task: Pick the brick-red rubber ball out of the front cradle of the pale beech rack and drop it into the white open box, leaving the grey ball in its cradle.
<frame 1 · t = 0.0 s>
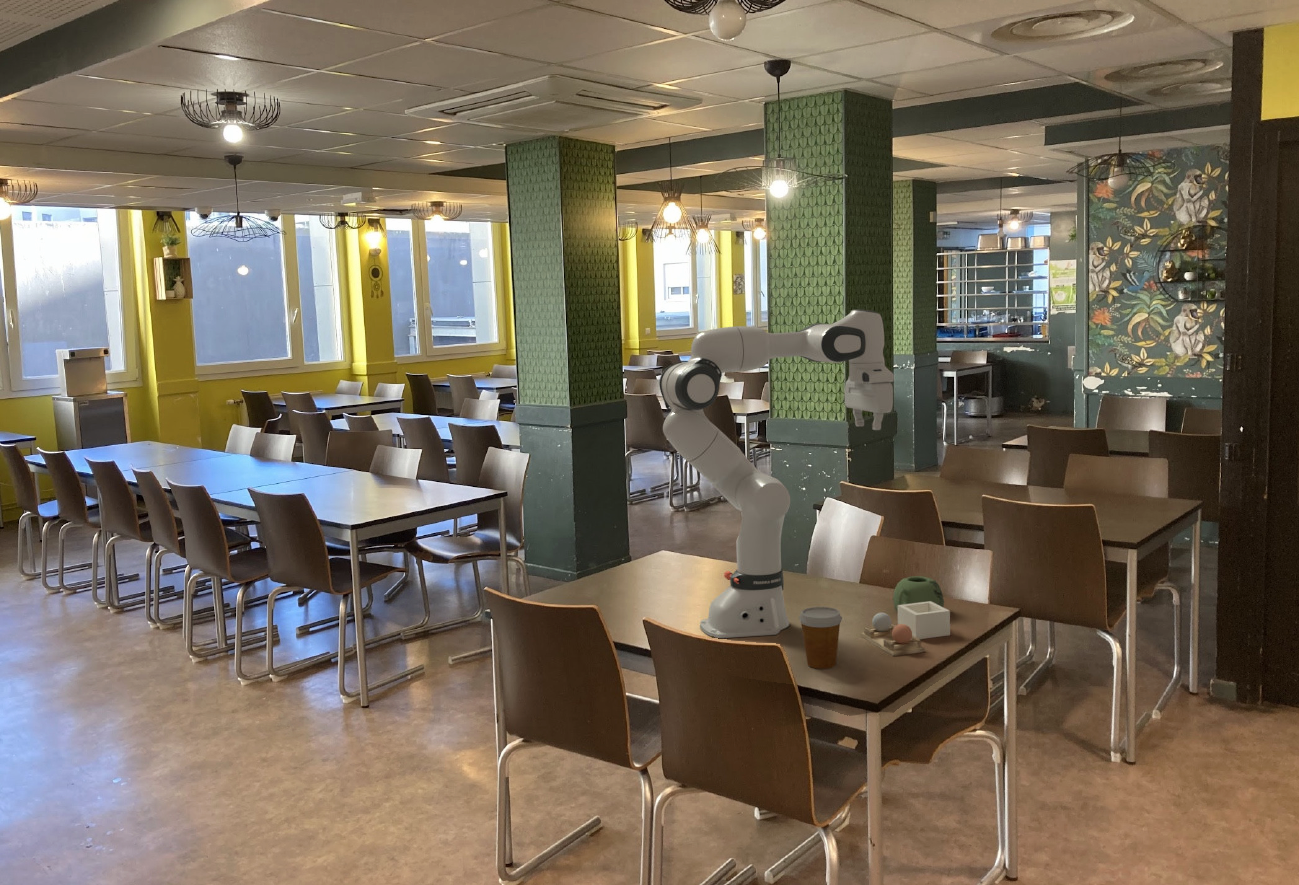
hand: (868, 428, 270), 48 cm above the table, fingers open, 8 cm apart
rack: (892, 643, 249), on the table
disposable coffee cup: (821, 665, 238), on the table
green rounded piece: (915, 613, 273), on the table
grey ball: (881, 622, 254), point 4 cm above the table, touching rack
white open box: (923, 632, 257), on the table
red ball: (902, 633, 244), point 4 cm above the table, touching rack
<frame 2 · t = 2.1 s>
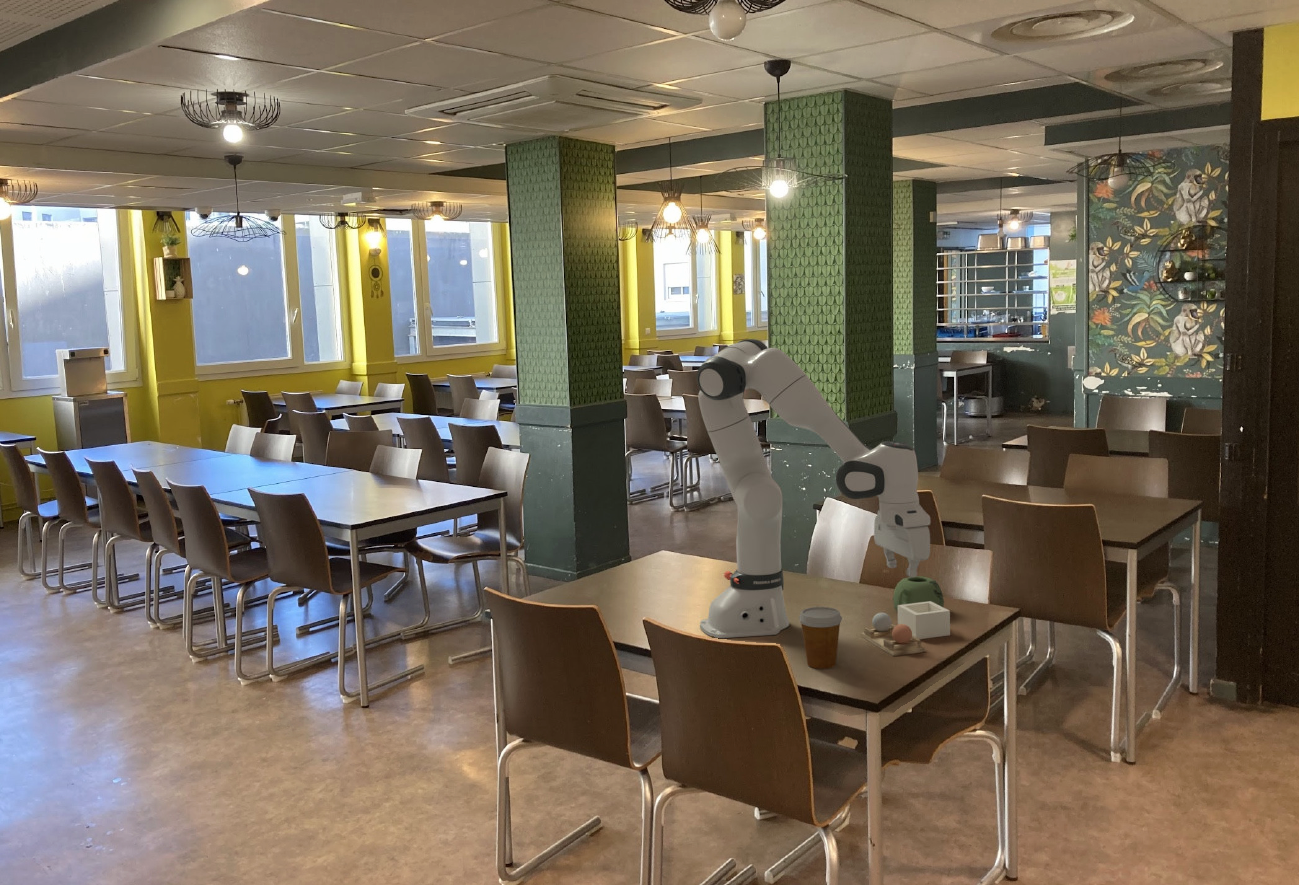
hand: (901, 571, 243), 18 cm above the table, fingers open, 8 cm apart
nothing on the table moved.
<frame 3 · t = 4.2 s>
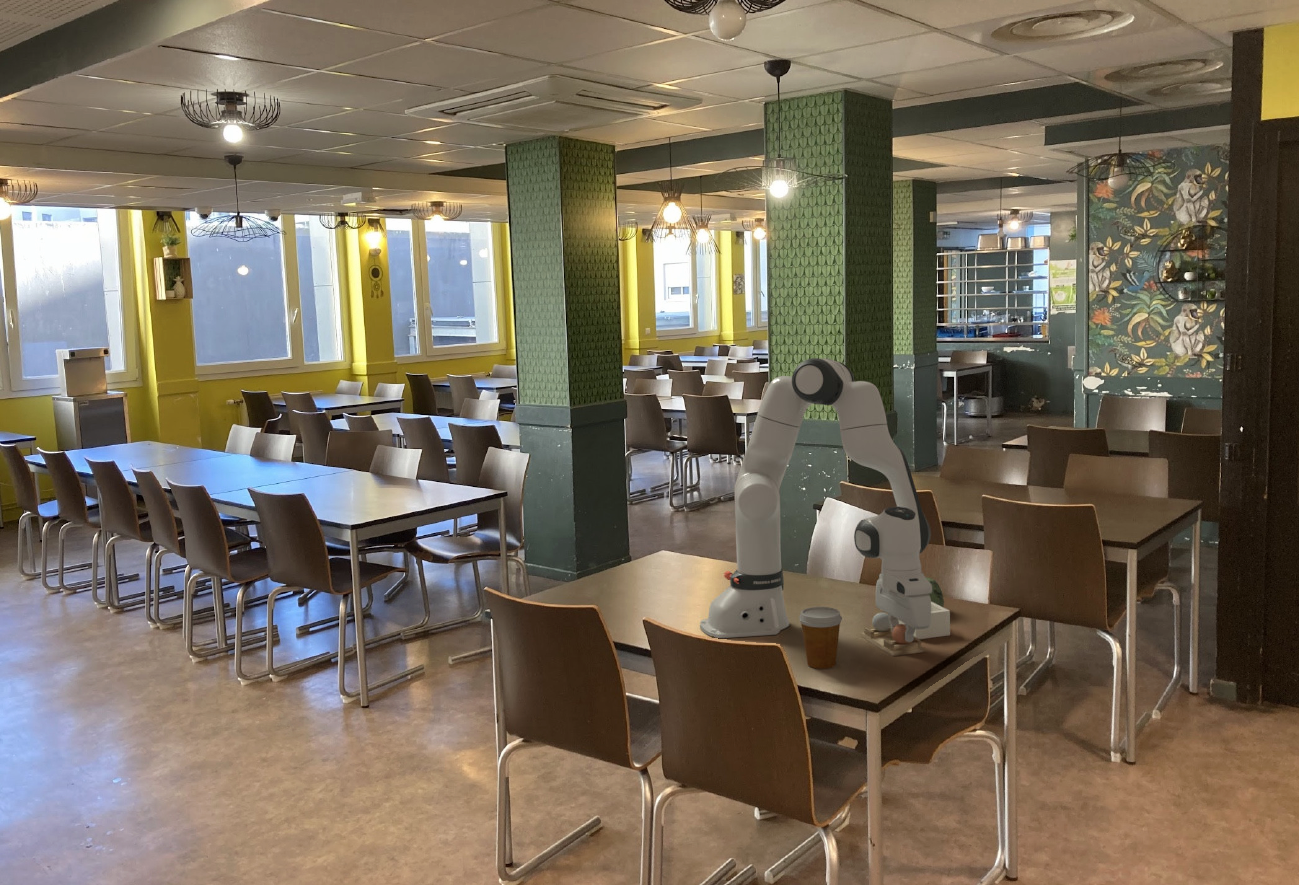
hand: (902, 637, 244), 3 cm above the table, fingers closed on red ball, 4 cm apart
red ball: (902, 633, 244), point 4 cm above the table, touching gripper, rack
everything else where it was.
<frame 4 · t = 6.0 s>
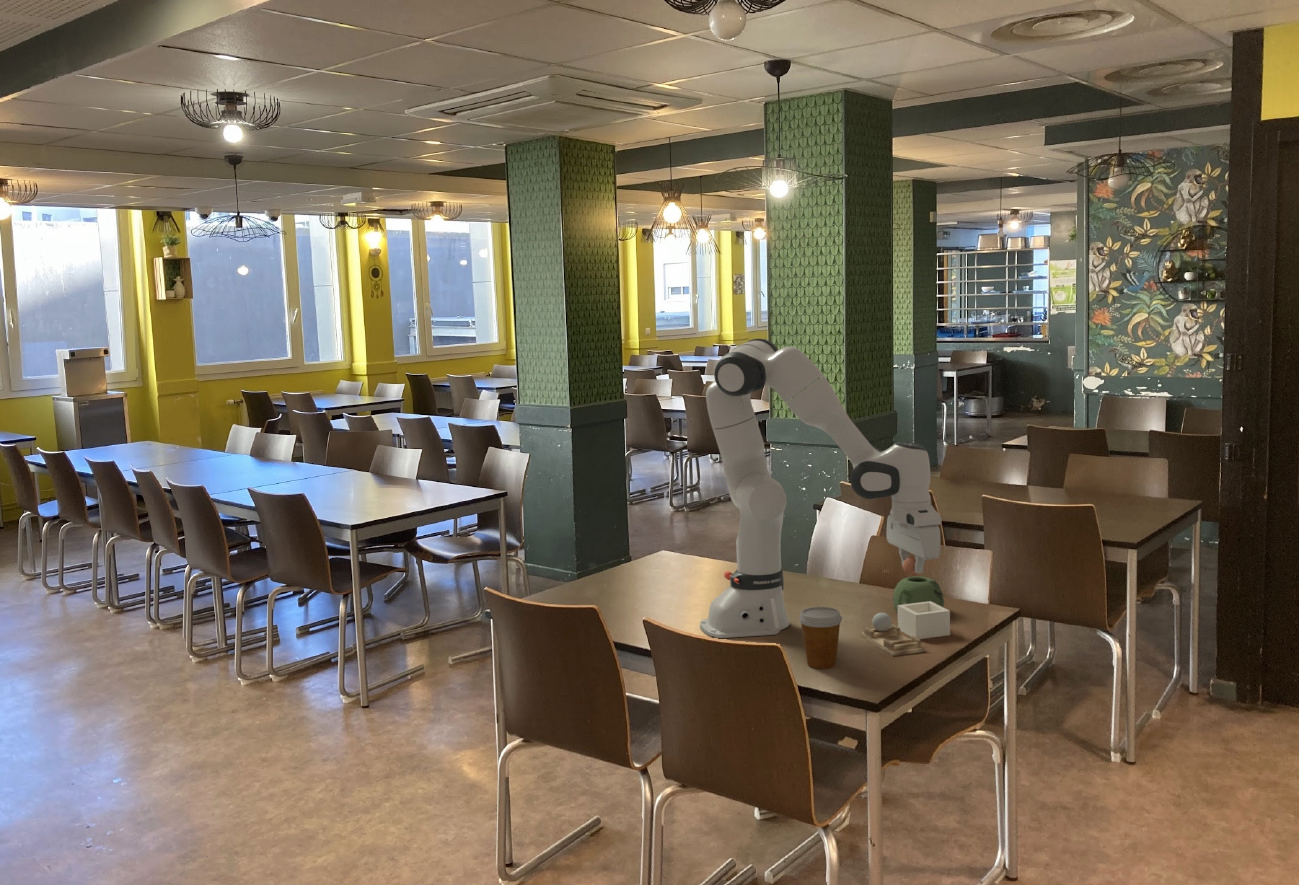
hand: (912, 569, 248), 17 cm above the table, fingers closed on red ball, 4 cm apart
red ball: (912, 566, 248), point 18 cm above the table, touching gripper
everything else where it was.
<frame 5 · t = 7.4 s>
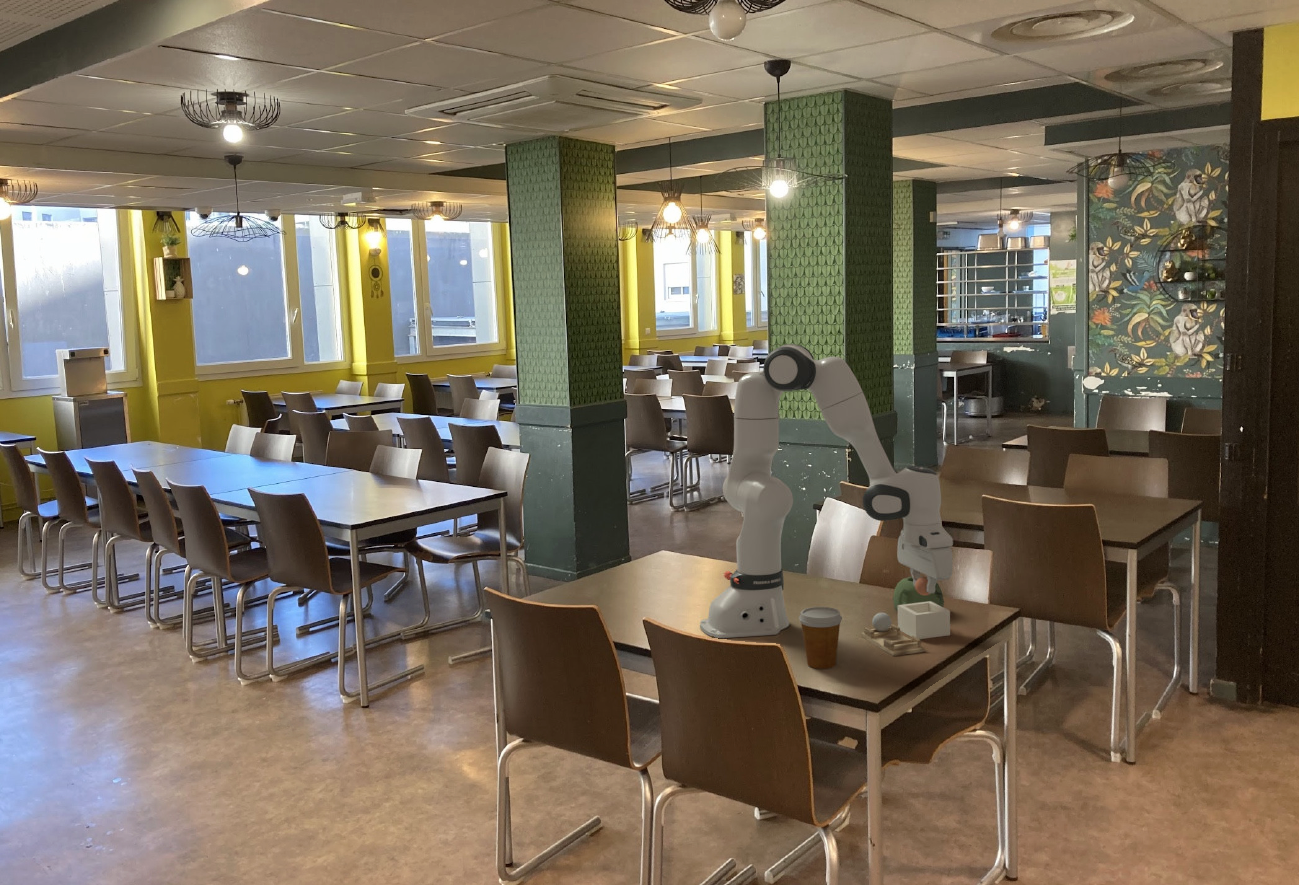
hand: (924, 589, 256), 11 cm above the table, fingers closed on red ball, 4 cm apart
red ball: (924, 586, 256), point 11 cm above the table, touching gripper
everything else where it was.
when the fingers open (9 cm above the table, at t = 8.1 s): red ball drops 7 cm, resting on white open box.
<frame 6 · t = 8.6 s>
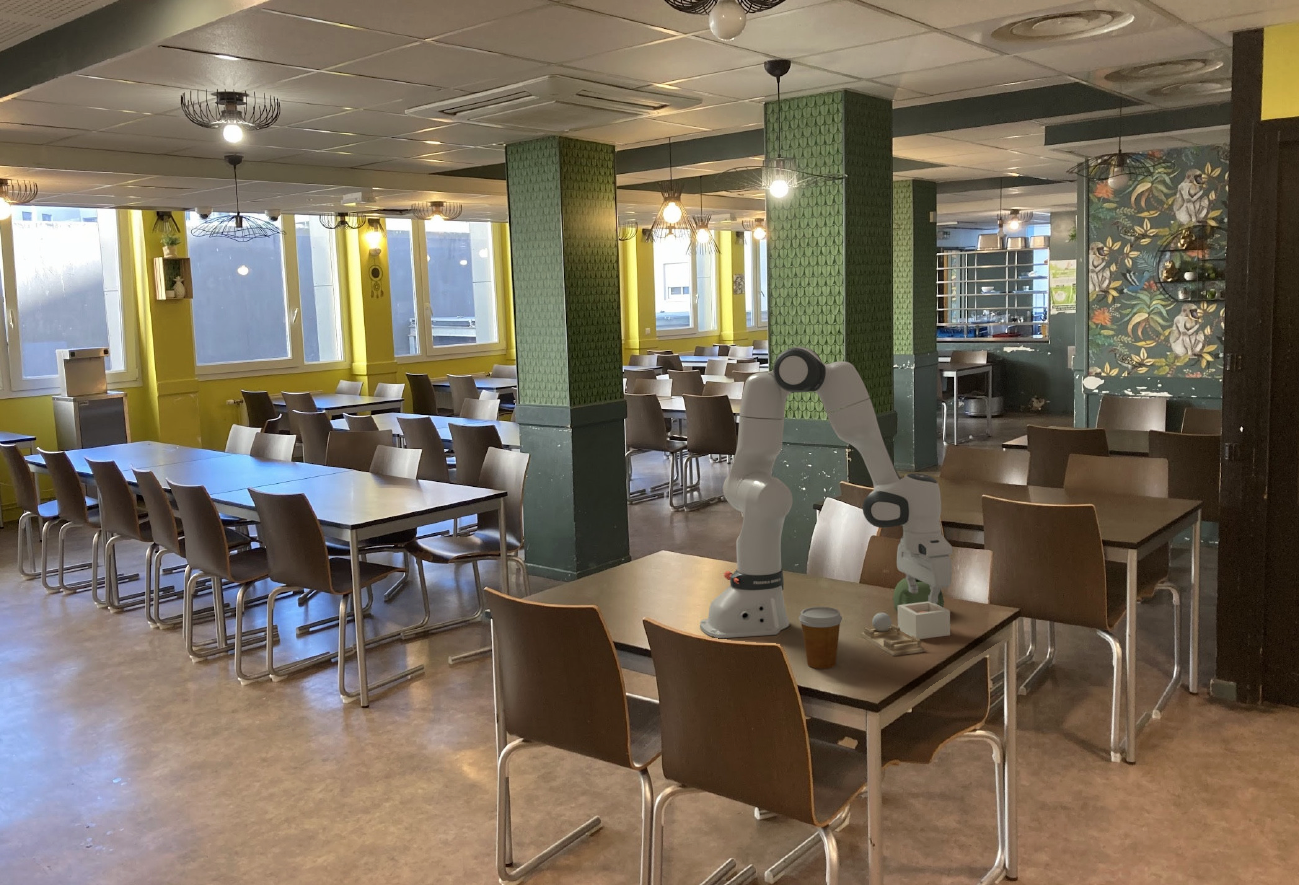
hand: (923, 597, 256), 9 cm above the table, fingers open, 8 cm apart
red ball: (923, 620, 257), point 3 cm above the table, touching white open box
everything else where it was.
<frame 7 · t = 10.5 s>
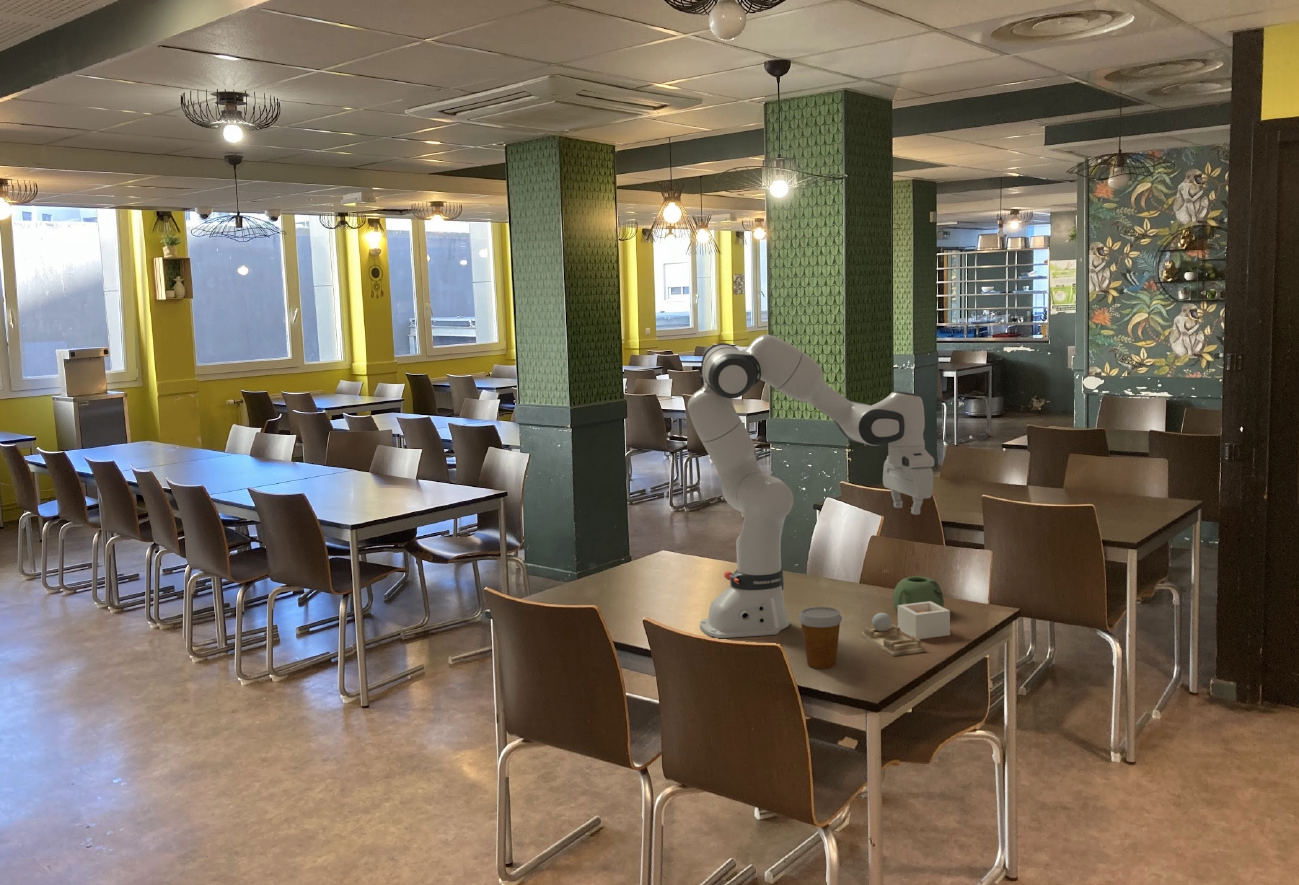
hand: (906, 510, 266), 27 cm above the table, fingers open, 8 cm apart
nothing on the table moved.
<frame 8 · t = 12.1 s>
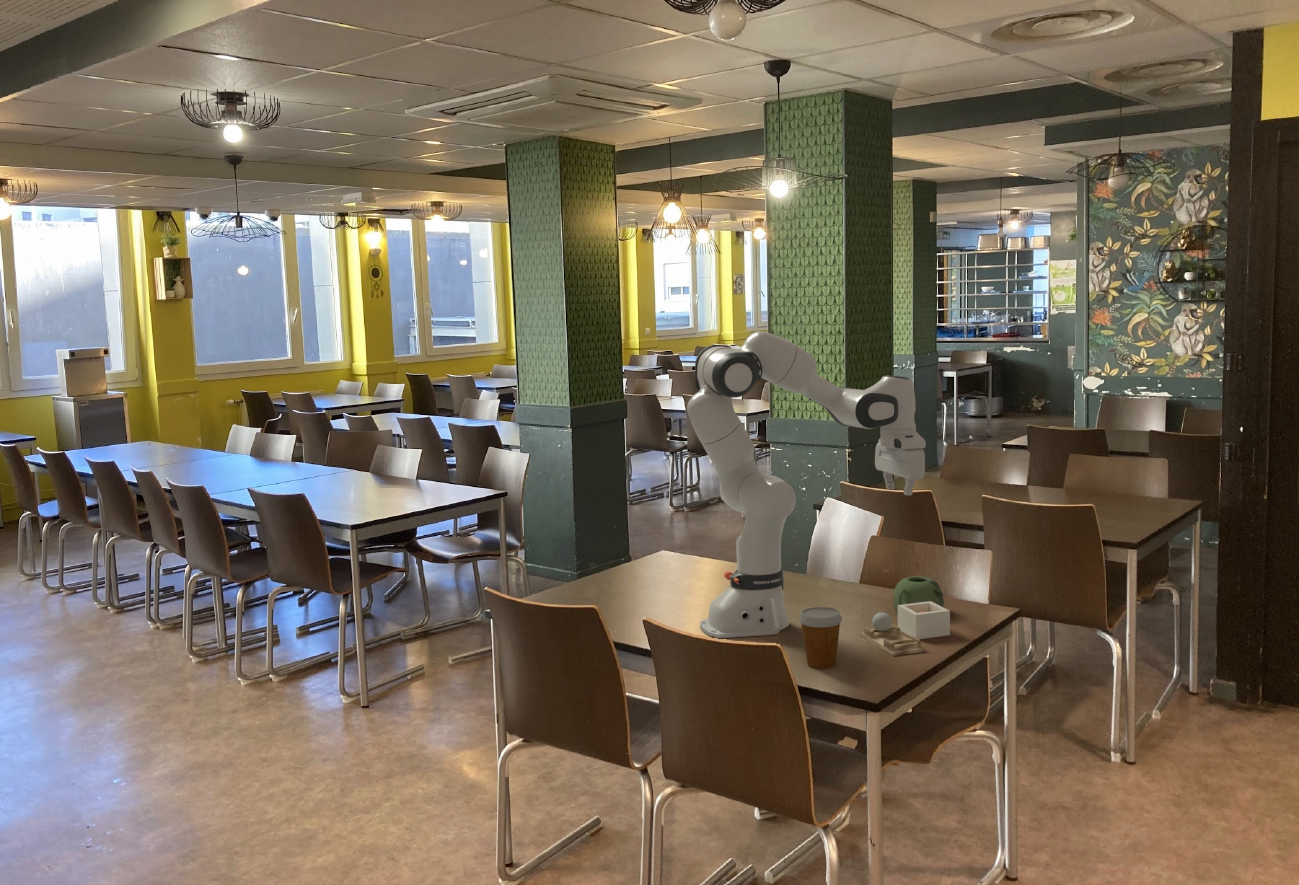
hand: (899, 492, 272), 31 cm above the table, fingers open, 8 cm apart
nothing on the table moved.
at the end: red ball 0.2 cm off-centre on the white open box, point 2.8 cm above the white open box's base; the gripper is holding nothing; grey ball 0.0 cm from the target spot on the rack, point 3.8 cm above the rack's base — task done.
